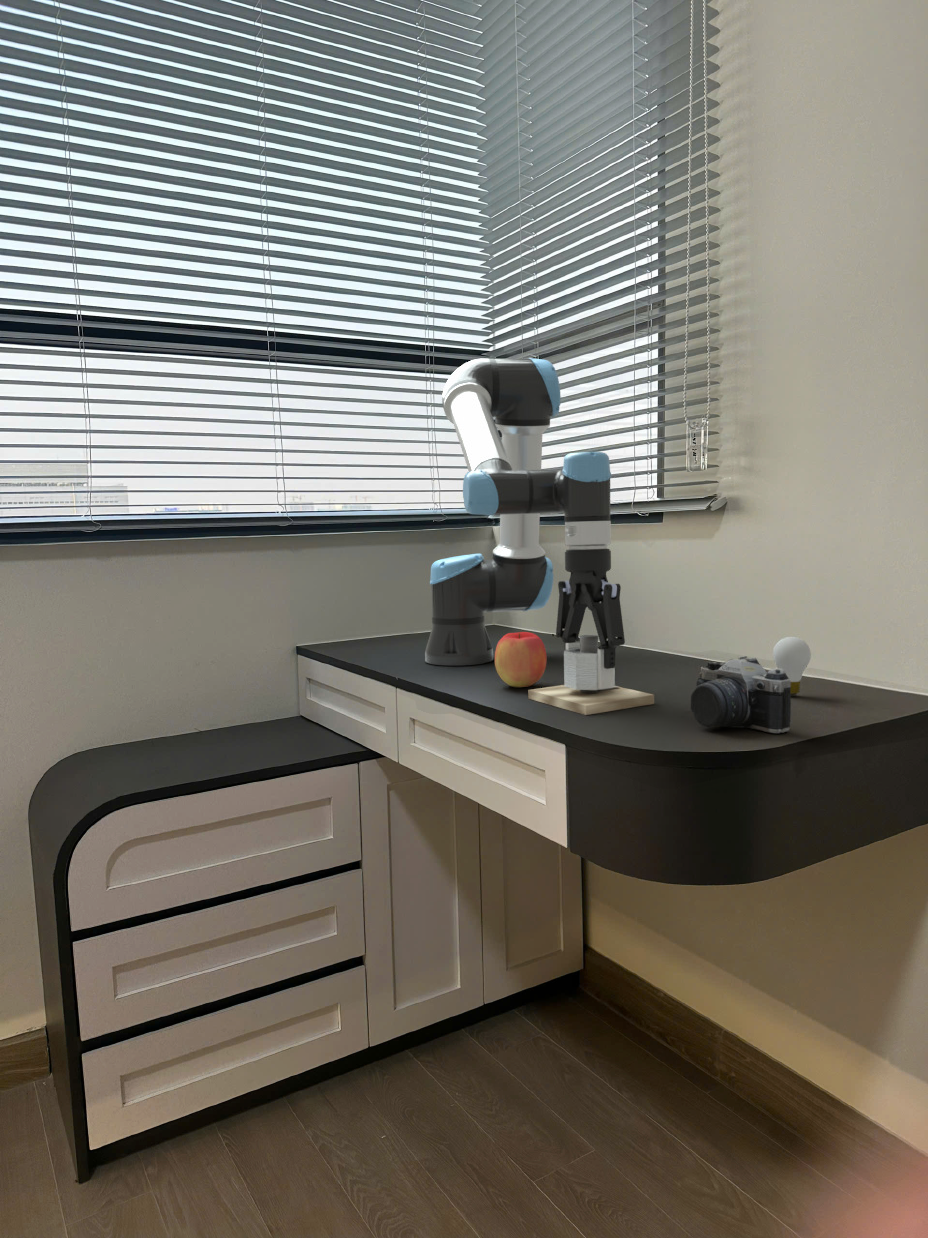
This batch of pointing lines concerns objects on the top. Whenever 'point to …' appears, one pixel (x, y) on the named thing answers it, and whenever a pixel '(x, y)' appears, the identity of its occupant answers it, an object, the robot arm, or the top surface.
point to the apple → (520, 659)
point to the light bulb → (792, 659)
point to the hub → (581, 669)
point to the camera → (742, 696)
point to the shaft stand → (590, 692)
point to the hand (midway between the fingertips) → (589, 683)
